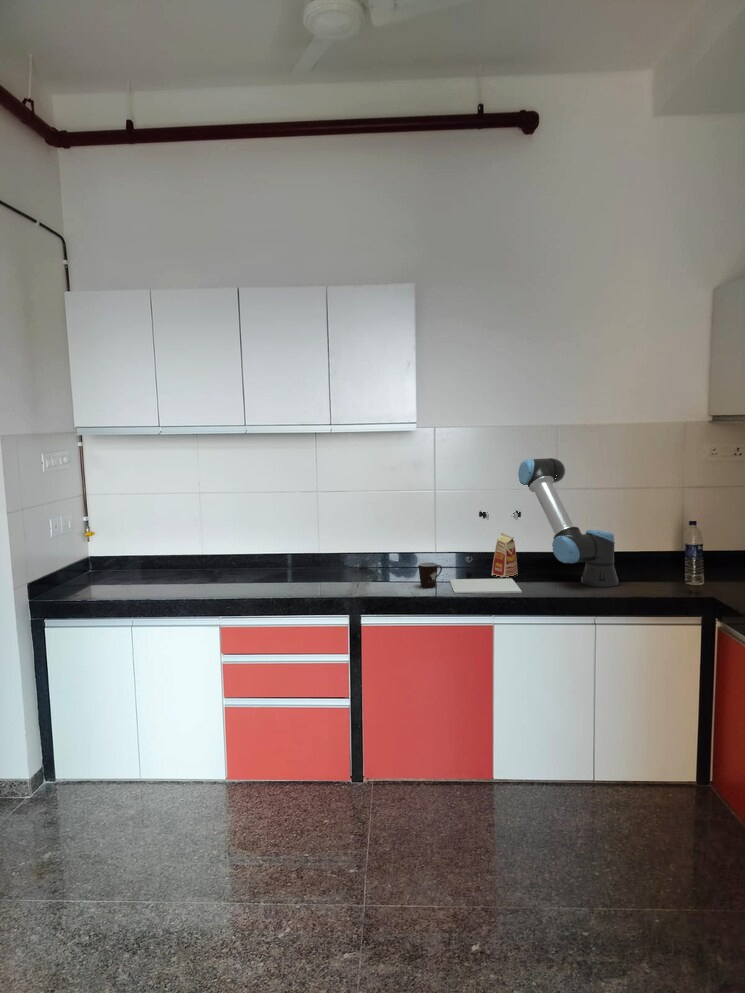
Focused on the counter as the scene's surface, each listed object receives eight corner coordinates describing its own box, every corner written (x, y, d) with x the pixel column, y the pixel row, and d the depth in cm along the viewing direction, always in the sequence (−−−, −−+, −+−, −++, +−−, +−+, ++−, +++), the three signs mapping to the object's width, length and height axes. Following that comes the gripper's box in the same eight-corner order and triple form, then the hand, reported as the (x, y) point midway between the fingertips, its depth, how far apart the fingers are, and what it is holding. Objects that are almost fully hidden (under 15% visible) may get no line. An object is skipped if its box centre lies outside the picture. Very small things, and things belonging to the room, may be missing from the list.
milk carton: (491, 575, 301) (491, 533, 299) (504, 572, 306) (504, 530, 304) (506, 578, 293) (506, 535, 291) (519, 575, 299) (519, 532, 297)
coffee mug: (421, 589, 276) (421, 566, 275) (416, 585, 284) (415, 563, 283) (447, 587, 278) (447, 565, 277) (441, 583, 287) (441, 561, 286)
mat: (512, 580, 290) (512, 578, 289) (521, 592, 267) (521, 591, 267) (449, 581, 291) (449, 579, 291) (454, 593, 268) (454, 591, 268)
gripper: (520, 517, 326) (528, 525, 305) (471, 516, 327) (475, 524, 306) (521, 502, 325) (529, 509, 304) (471, 502, 326) (476, 509, 305)
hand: (502, 517), depth 305 cm, fingers open, 13 cm apart
